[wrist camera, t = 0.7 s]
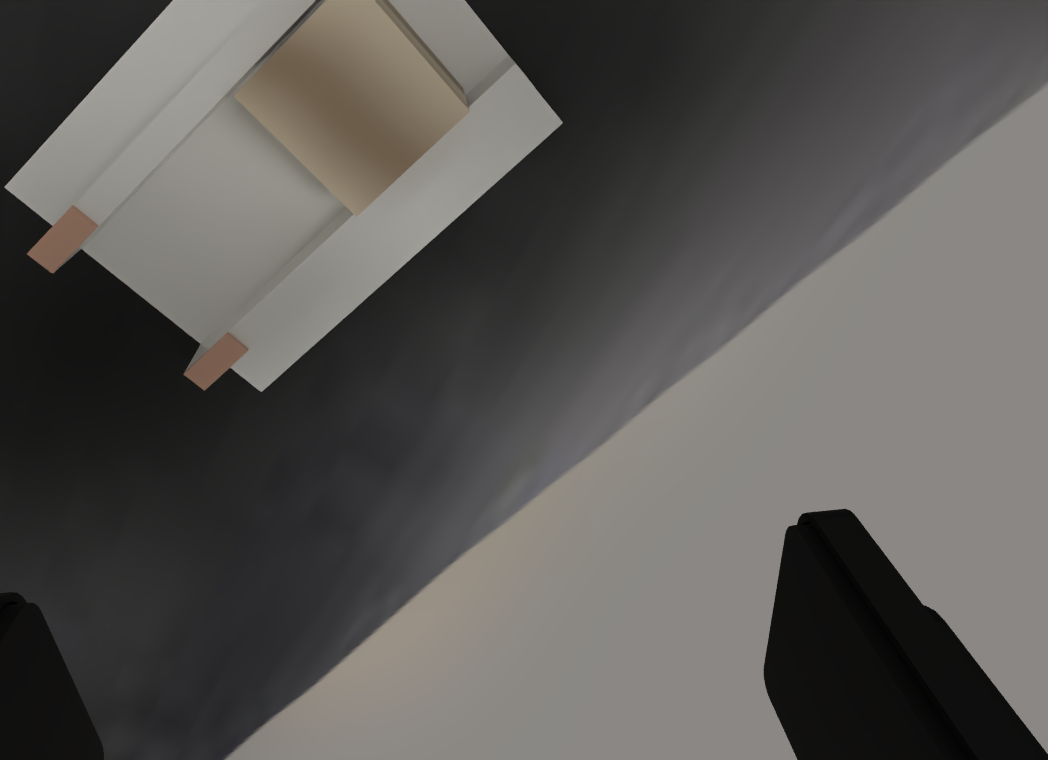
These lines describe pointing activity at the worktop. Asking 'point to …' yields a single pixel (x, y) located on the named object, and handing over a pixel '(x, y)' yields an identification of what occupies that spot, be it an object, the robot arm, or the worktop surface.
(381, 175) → the block
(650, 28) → the worktop surface
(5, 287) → the worktop surface
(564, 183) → the worktop surface
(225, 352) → the chute
